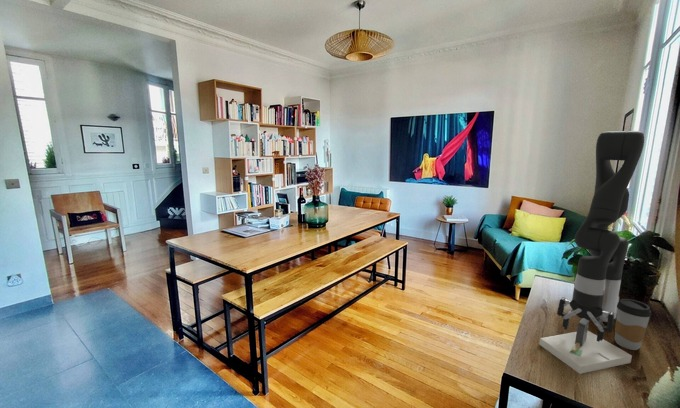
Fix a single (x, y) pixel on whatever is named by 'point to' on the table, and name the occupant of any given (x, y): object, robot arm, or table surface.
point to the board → (585, 352)
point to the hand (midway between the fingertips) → (581, 334)
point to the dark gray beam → (581, 333)
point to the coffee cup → (631, 323)
